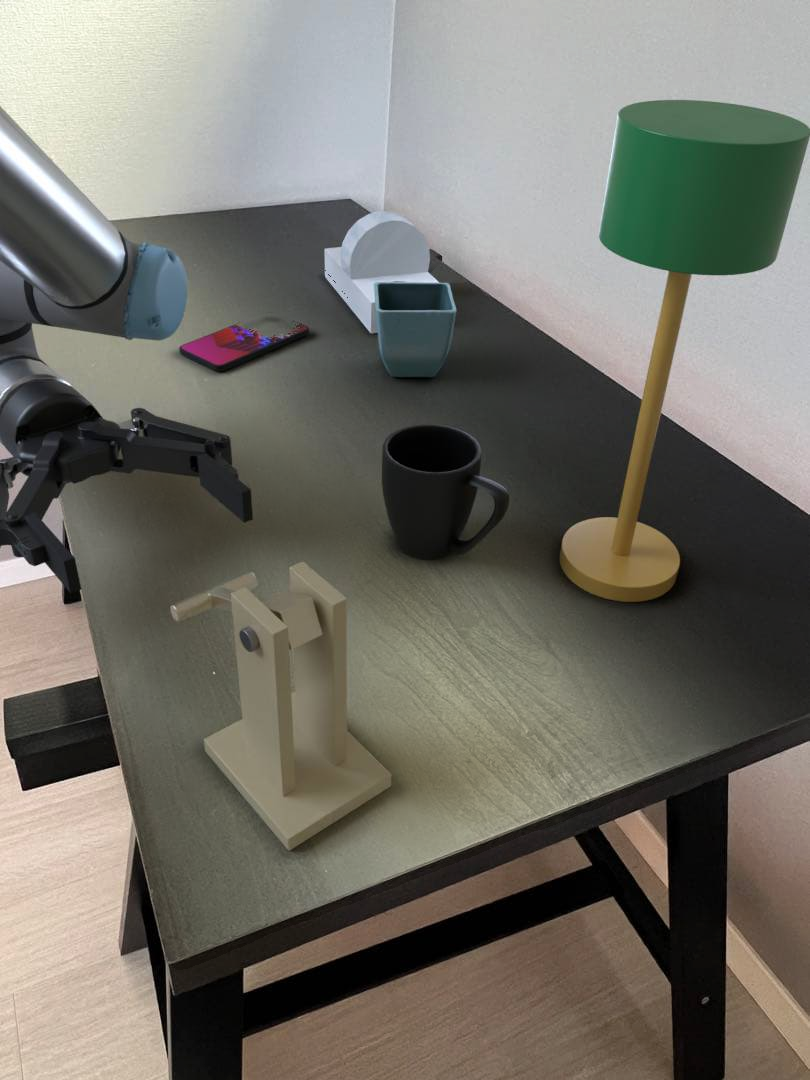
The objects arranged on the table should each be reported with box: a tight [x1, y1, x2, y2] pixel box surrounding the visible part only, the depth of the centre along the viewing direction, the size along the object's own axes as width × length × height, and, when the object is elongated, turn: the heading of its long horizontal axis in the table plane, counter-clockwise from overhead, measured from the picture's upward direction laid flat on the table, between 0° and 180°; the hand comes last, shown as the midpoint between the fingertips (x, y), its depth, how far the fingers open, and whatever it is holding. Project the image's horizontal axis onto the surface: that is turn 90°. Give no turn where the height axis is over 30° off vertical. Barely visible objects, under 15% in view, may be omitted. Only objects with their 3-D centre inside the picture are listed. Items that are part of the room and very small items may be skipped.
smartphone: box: [178, 320, 310, 372], centre depth 114 cm, size 8×1×15 cm
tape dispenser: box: [324, 210, 440, 334], centre depth 124 cm, size 20×11×11 cm, turn 21°
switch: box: [169, 571, 323, 651], centre depth 58 cm, size 12×6×2 cm, turn 40°
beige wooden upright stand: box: [203, 561, 392, 852], centre depth 58 cm, size 10×8×15 cm
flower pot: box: [374, 282, 457, 378], centre depth 108 cm, size 9×9×9 cm
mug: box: [381, 423, 510, 560], centre depth 80 cm, size 8×12×10 cm
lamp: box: [559, 99, 810, 603], centre depth 71 cm, size 12×12×36 cm
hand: (165, 539), depth 67 cm, fingers open, 13 cm apart
